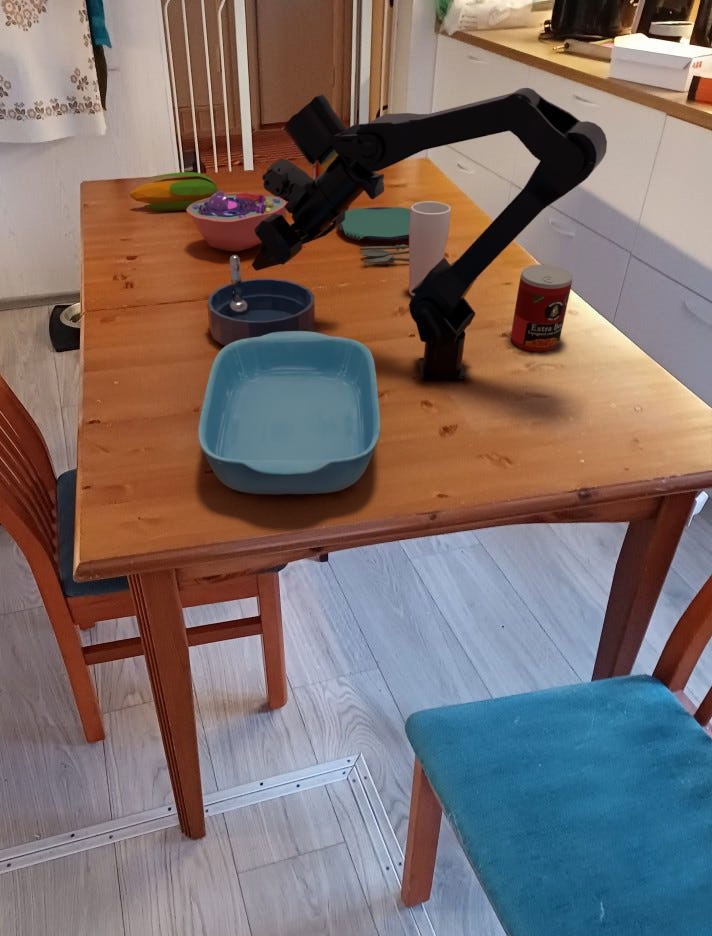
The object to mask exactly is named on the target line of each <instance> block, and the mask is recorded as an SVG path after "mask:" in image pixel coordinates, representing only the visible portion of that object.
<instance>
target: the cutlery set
mask: <svg viewBox="0 0 712 936" xmlns="http://www.w3.org/2000/svg"><path fill="white" fill-rule="evenodd" d="M410 213H411V208H406V207H401V206H395V207H394V206H393V207H388V206H387V207H386V206H384V207H383V206H375V207H374V206H373V207H363V208H361V207H355V208H352V209H348V210H347V211H346V212H345V220H344V221H343V222H342V223H341V224H340V225H339V226H338V227H337V228H338V229H339V230H340V231H341V232H343V233H344V234H345V236H346V237H347V238H350V239H354V240H357V241H361V239H363V240H370V241H377V242H378V241H383V242H386V241H387V242H391V241H393V242H394V241H402V240H408V239H409V223H410ZM407 249H408V250H407ZM389 250H396V251H394V252H391V251H389ZM399 250H401V251H399ZM359 251H361V252H360V254H361V255H362V256H363V257H366V258H369V259H365V258H363V259H362V261H363V263H364V264H368V265H369V264H383V265H384V264H389V265H390V264H393V263H394V262H395V261H396V262H397V261H398V262H408V263H409V257H401V256H400V257H399V256H398V257H397V256H396V257H395V255H405V254H409V245H406V244H404V243H403V244H401V245H398V244H396V245H394V246H393V245H381V246H380V245H379V246H377V245H376V246H375V245H374V246H362V247H359Z"/></svg>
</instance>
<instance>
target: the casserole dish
mask: <svg viewBox="0 0 712 936" xmlns="http://www.w3.org/2000/svg"><path fill="white" fill-rule="evenodd" d="M375 364H376V363H375V360H374V356H373V354H372V352H371V351H370V348H369V347H368V346H366V345H365V344H364V343H362V342H360V341H358V340H355V339H352V338H349V337H343V336H333V335H327V334H324V333H321V332H315V331H314V332H309V331H284V332H274V333H269V334H266V335H263V336H261V337H253V338H246V339H241V340H238V341H235V342H232V343H230V344H228V345H227V346H224V347H223V348H221V349H220V351H219V352H218V353H217V355H216V356H215V358H214V360H213V362H212V365H211V367H210V371H209V376H208V379H207V384H206V388H205V393H204V396H203V401H202V406H201V411H200V415H199V422H198V429H197V438H198V444H199V446H200V449H201V450H202V452H203V453H204V455H205V457H206V460H207V462H208V464H209V466H210V468H211V470H212V471H213V473H214V474H215V476H216V477H217V479H218V480H219V481H220V482H221V483H222V484H223V485H224V486H226V487H227V488H230V489H232V490H233V491H238V492H241V493H246V494H253V495H288V494H289V495H317V494H330V493H336V492H340V491H342V490H345V489H347V488H349V487H351V486H353V485H354V484H355V483H357V482H358V480H360V478H361V477H362V476H363V475H364V473H365V471H366V469H367V467H368V465H369V463H370V462H371V459H372V457H373V454H374V451H375V448H376V446H377V443H378V441H379V438H380V434H381V433H380V432H381V413H380V404H379V403H380V402H379V394H378V393H379V392H378V391H379V390H378V381H377V380H378V379H377V372H376V371H377V370H376V365H375Z"/></svg>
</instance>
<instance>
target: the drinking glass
mask: <svg viewBox="0 0 712 936" xmlns="http://www.w3.org/2000/svg"><path fill="white" fill-rule="evenodd" d="M410 210H411V213H410V223H409V238H408V246H409V248H408V250H409V253H408V258H409V261H408V293H409V294H410V295H411V296H412V297H413V296H414V295H415V293H412V292H411V291H412V290H413V289H414V288H415V287H416V286H417V285H418V284H419V283H420V282H421V281H422V280H423V279H424V278H425V277H426V276H427V274H428V273H429V271H430V270H431V269H432V268H433V267H435V266H436V265H437V264H438V263H439V262H440V261H441V260H442V259H443V258H444V257H445V255H446V249H447V244H448V238H449V233H450V227H451V226H450V225H451V212H452V211H451V210H452V208H451V206H450V205H449V204H447V203H444V202H440V201H431V200H430V201H429V200H428V201H427V200H425V201H419V202H415V203H413V204H412V205H411V206H410Z"/></svg>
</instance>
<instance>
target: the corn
mask: <svg viewBox="0 0 712 936" xmlns="http://www.w3.org/2000/svg"><path fill="white" fill-rule="evenodd" d="M165 177H170V178H165ZM171 177H172V178H171ZM152 178H154V179H157V178H164V179H159V180H156V181H153V182H148V183H145V184H141V185H139V186H136V187H135V188H134V189H133V190H131V192H129V195H130V198H131V199H132V200H134V201H136V202H140V203H145V205H144V206H143V208H144V209H148V210H153V211H158V212H159V211H160V212H164V211H165V212H177V211H179V212H180V211H187V208H188V207H189V206H190V205H191V204H193V203H195V202H197V201H200V200H203V199H207V198H210V197H211V196H212V195H213V194H214V193H216V192H218V191H219V187H218V185H217V184H216V183H215V181H214V180H213V179H212V178H210V177H209V176H207V175H205V174H203V173H201V172H195V171H182V172H172V173H171V172H170V173H165V174H164V173H163V174H159V175H154V176H152Z"/></svg>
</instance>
